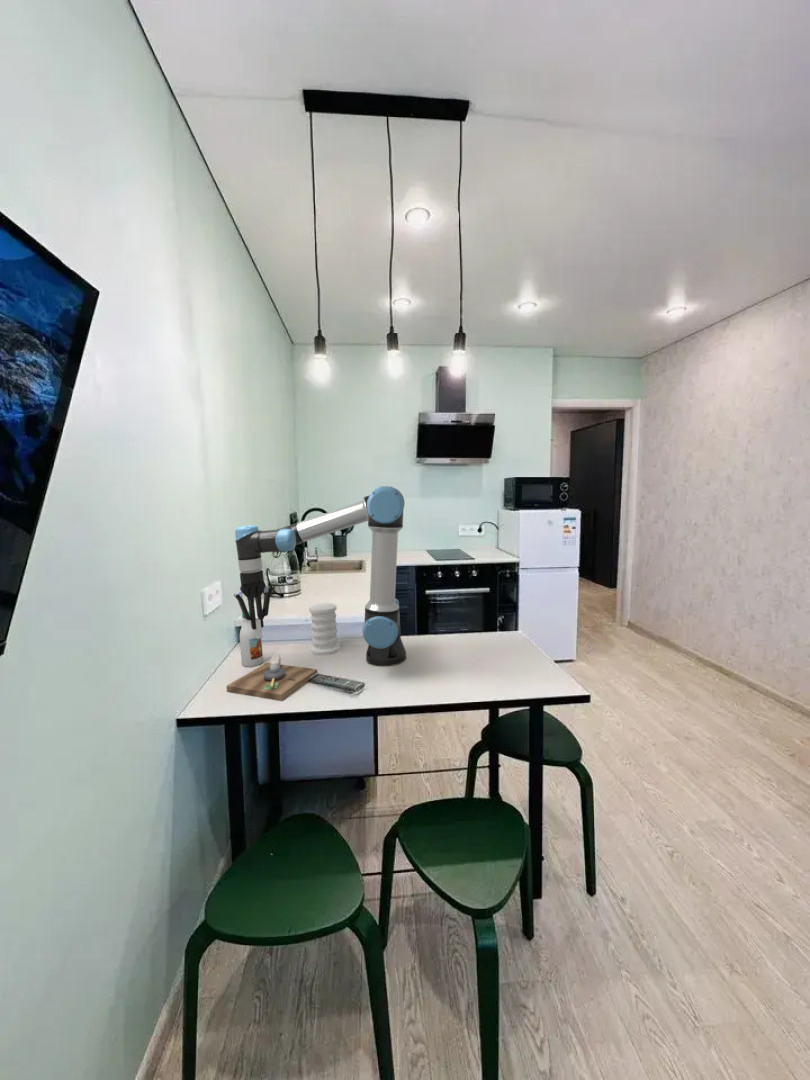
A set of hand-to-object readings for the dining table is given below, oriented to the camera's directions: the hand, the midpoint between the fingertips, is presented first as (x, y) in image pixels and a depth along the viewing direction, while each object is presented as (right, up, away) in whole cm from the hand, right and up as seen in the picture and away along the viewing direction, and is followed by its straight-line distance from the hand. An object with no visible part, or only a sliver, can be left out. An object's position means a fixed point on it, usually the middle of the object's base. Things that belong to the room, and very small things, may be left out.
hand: (258, 637), depth 152 cm
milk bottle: (-7, -13, +15) cm, 22 cm away
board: (+6, -15, -3) cm, 16 cm away
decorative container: (+19, -11, +26) cm, 34 cm away
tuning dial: (+7, -13, -4) cm, 15 cm away
